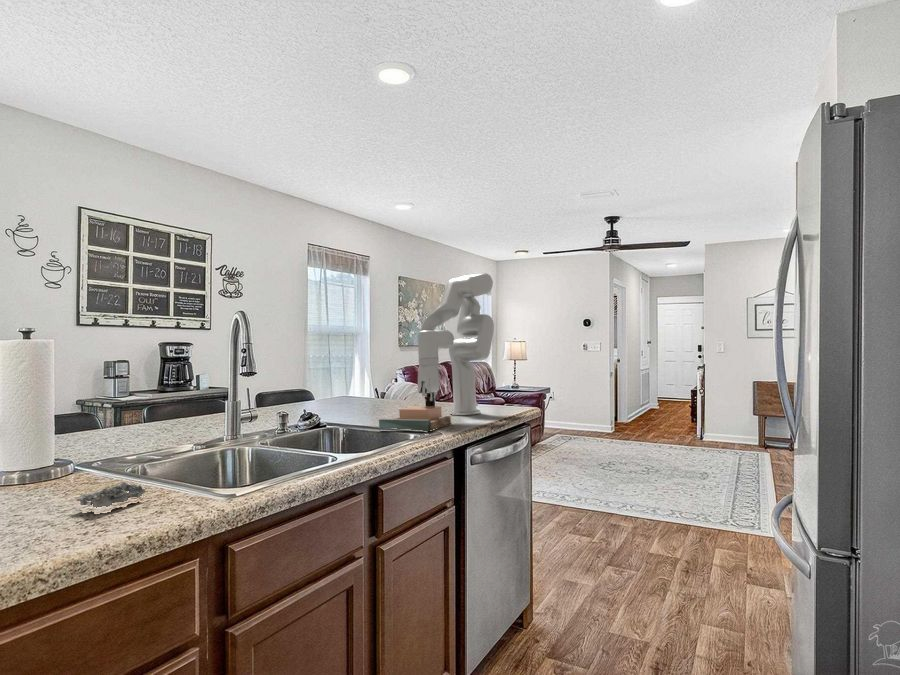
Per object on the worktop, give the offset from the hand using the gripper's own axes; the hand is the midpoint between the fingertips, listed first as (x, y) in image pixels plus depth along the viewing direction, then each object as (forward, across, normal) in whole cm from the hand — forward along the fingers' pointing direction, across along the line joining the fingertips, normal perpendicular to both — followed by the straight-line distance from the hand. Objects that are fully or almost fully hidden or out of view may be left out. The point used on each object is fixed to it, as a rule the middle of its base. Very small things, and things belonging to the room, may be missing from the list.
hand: (430, 411), depth 206 cm
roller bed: (+4, +12, 0) cm, 13 cm away
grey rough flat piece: (+6, +114, -13) cm, 115 cm away
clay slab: (+2, +8, 0) cm, 8 cm away
